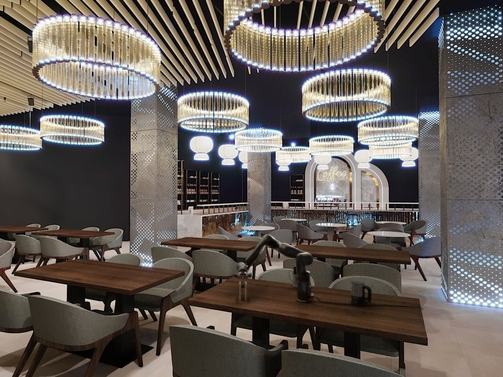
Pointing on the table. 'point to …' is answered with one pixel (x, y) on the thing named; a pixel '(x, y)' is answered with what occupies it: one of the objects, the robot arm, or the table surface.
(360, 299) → the milk frother
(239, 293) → the toaster bracket
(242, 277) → the lever
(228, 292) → the table surface
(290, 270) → the glass holder
